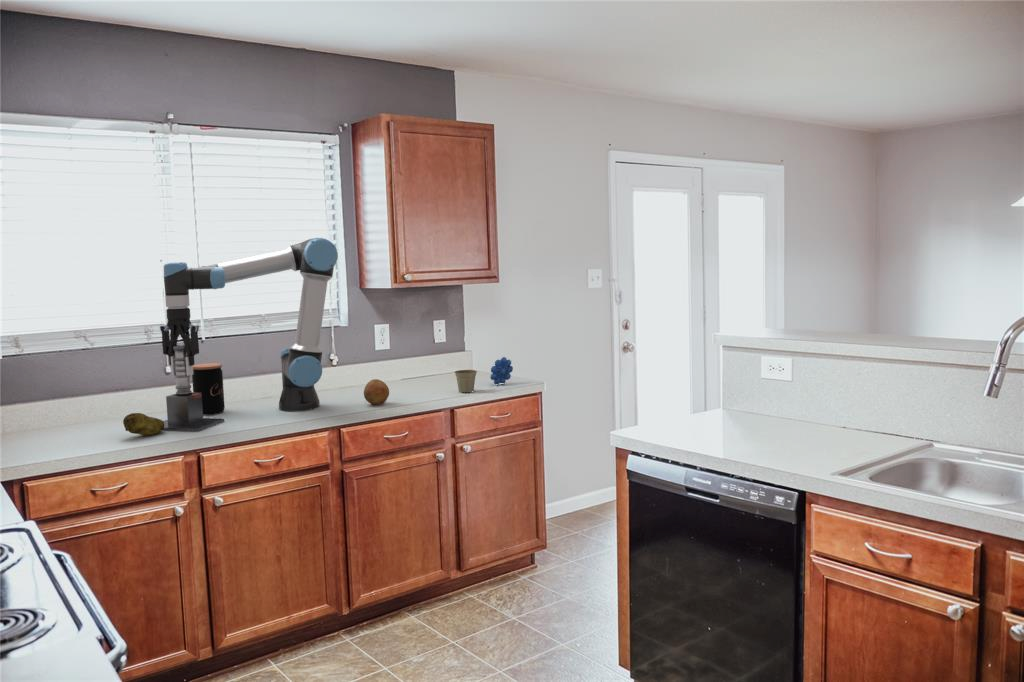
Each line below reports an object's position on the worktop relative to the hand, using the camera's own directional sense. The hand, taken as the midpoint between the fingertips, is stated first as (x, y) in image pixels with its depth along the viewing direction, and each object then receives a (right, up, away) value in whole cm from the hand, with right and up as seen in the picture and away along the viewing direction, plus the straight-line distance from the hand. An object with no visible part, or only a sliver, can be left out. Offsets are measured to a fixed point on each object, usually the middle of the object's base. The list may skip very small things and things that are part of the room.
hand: (182, 374), depth 279 cm
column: (0, -12, +1) cm, 12 cm away
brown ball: (+62, -13, +33) cm, 71 cm away
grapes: (+109, -7, +74) cm, 132 cm away
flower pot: (+95, -10, +57) cm, 111 cm away
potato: (-7, -20, -12) cm, 24 cm away
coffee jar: (0, -15, +24) cm, 29 cm away
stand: (0, -18, +2) cm, 18 cm away
